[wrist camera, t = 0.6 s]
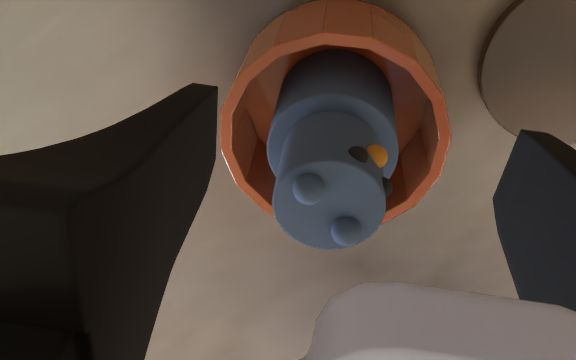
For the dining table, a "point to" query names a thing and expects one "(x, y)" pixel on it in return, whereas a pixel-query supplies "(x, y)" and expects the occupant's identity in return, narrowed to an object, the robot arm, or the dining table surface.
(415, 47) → the orange bowl
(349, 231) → the owl
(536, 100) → the coaster
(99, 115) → the dining table surface
